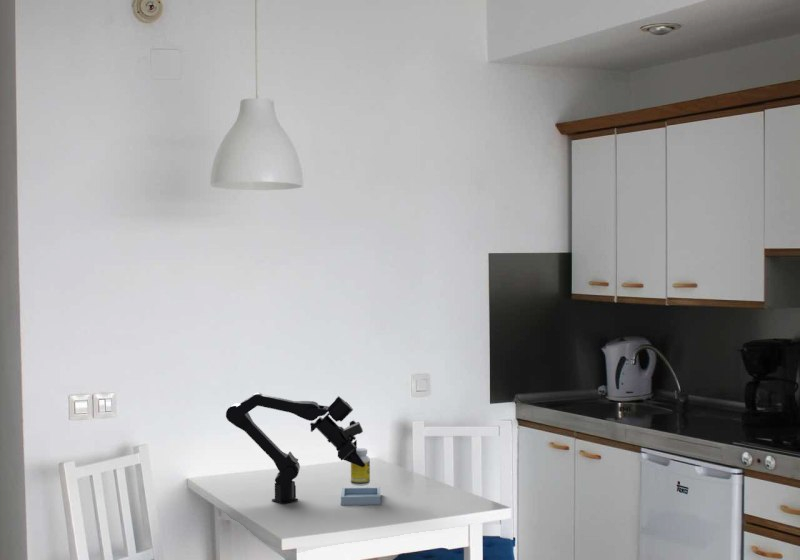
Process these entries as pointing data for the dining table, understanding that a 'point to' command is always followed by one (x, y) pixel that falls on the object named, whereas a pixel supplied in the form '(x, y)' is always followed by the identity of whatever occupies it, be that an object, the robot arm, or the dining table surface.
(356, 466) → the pill bottle
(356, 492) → the dish
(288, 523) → the dining table surface
